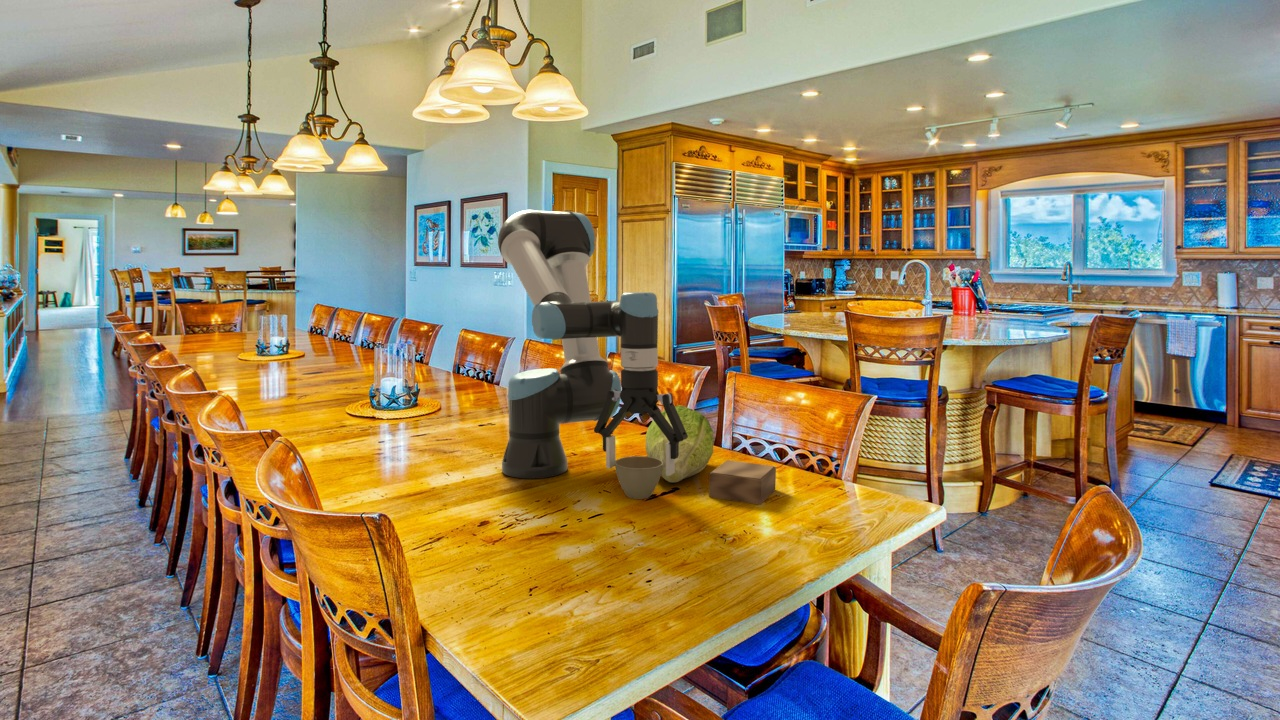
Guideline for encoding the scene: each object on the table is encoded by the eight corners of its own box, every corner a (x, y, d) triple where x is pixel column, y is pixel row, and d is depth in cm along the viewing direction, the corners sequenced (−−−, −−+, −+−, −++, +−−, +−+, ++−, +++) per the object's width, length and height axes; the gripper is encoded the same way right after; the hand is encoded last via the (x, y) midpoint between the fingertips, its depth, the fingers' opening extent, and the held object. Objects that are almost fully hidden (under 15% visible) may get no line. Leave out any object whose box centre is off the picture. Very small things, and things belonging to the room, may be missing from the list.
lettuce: (710, 509, 151) (640, 512, 155) (719, 445, 173) (657, 449, 177) (699, 453, 145) (626, 458, 149) (710, 394, 166) (646, 399, 170)
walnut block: (709, 496, 145) (709, 472, 144) (726, 482, 154) (726, 459, 154) (760, 504, 140) (761, 479, 139) (775, 489, 150) (775, 465, 149)
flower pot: (658, 504, 140) (658, 469, 139) (609, 501, 142) (609, 467, 141) (666, 489, 149) (666, 457, 148) (620, 486, 151) (620, 454, 150)
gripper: (577, 367, 144) (578, 468, 146) (689, 373, 133) (689, 481, 136) (595, 363, 151) (596, 460, 153) (703, 369, 140) (703, 472, 142)
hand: (640, 470), depth 144 cm, fingers open, 13 cm apart
